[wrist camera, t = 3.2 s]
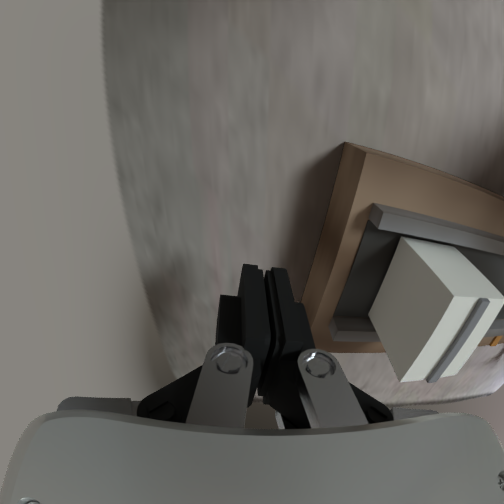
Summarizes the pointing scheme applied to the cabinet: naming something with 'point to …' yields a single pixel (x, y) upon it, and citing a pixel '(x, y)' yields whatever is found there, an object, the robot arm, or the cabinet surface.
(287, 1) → the cabinet surface
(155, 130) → the cabinet surface
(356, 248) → the fader console
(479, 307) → the fader tab
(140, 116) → the cabinet surface
